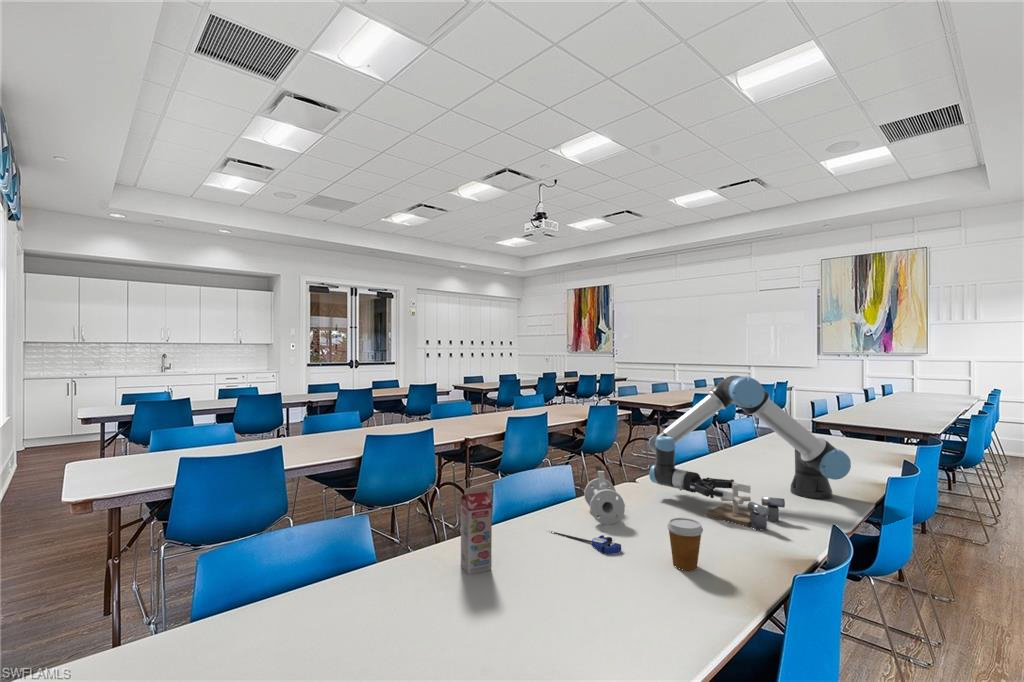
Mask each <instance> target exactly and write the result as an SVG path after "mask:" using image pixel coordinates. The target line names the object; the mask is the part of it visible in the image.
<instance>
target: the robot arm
mask: <svg viewBox="0 0 1024 682" xmlns="http://www.w3.org/2000/svg"><path fill="white" fill-rule="evenodd" d="M707 394H708V395H706V396H705V397H704V398H703V399H701V400H700V401H699V402H697V403H696V404H695V405H694V406H692V408H690V409H689V410H688V411H686V412H685V413H683V415H681V416H680V417H678V418H677V419H675V421H674V422H672V423H671V424H669V425H668V426H667V427H666V428H665V429H663V430H662V431H661V432H660V433H658V434H654V435H652V436H651V437H650V438H649V440H648V446H649V449H650V451H651V452H652V453H654V454H655V464H653V465H652V466H651V467H650V469H649V474H648V476H649V480H650V481H651V482H652V483H655V484H657V485H660V486H663V487H670V488H673V489H677V490H679V492H680V491H687V492H689V493H693V494H694V493H698V494H700V495H702V496H704V497H707V498H708V497H710V499H714V497H716V498H720V499H721V498H724V499H728V500H733V486H732V484H737V485H738V492H743V493H746V494H747V493H748V494H751V485H749V484H745V483H741V482H735V479H732V478H731V479H724V478H712V477H703V478H701V476H700V474H699V473H698V472H694V471H689V470H685V469H678V468H676V444H678V443H680V441H681V440H683V439H684V438H685V437H687V436H688V435H690V433H692V432H693V431H694V430H696V429H697V428H698V427H699V426H701V425H702V424H703V423H705V422H706V421H707V420H709V419H710V418H711V417H713V416H714V415H715V414H716V413H717V412H719V411H720V410H726V408H728V407H730V406H731V405H735V406H737V407H738V408H739V409H740V410H742V411H743V412H744V413H745V414H746V415H749V416H751V415H752V416H755V417H756V418H757V419H758V420H760V421H761V422H763V423H764V424H765V425H766V426H767V427H768V428H769V429H771V430H772V431H773V432H774V433H776V434H777V435H778V436H779V437H780V438H782V439H783V440H784V441H785V442H786V443H788V444H789V445H790V446H791V447H792V448H794V476H793V478H792V481H791V483H790V493H792V494H793V493H795V494H794V495H796V494H797V496H799V495H801V496H800V497H803V496H805V497H804V498H808V497H810V498H809V499H816V498H819V499H820V500H824V499H825V498H826V500H827V499H832V498H833V489H832V487H831V485H830V481H829V480H837V481H838V480H841V479H843V478H845V477H846V476H847V475H848V474H849V473H850V470H851V469H852V462H851V459H850V457H849V455H848V454H847V453H846V452H845V451H843V450H841V449H837V448H836V447H835V446H834V445H832V444H831V443H830V442H829V441H828V440H826V439H825V438H823V437H816V436H815V435H814V434H813V433H811V432H810V431H809V430H808V429H806V428H805V427H804V426H803V425H802V424H800V423H799V422H798V420H795V419H794V418H793V416H791V415H790V414H788V413H787V412H786V411H785V410H784V409H782V408H781V407H780V406H778V404H777V403H775V402H774V401H773V400H772V399H771V398H770V393H769V392H768V391H767V390H765V388H764V386H763V385H762V384H761V383H760V381H758V380H757V379H755V378H753V377H750V376H741V375H730V376H727V377H725V378H724V379H722V380H721V381H720V382H718V383H717V385H715V386H714V387H712V389H710V390H709V391H708V393H707ZM724 489H731V490H732V491H729V490H724ZM819 499H818V500H819Z"/></svg>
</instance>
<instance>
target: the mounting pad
mask: <svg viewBox="0 0 1024 682" xmlns="http://www.w3.org/2000/svg"><path fill="white" fill-rule="evenodd" d="M738 510H739V513H733V504H730V503H724V504H721V505H718V506H716V507H714V508H712V509H709V510H706V512H705V516H706V517H708V516H709V518H712V517H713V518H712V519H717V520H719V519H720V521H723V520H725V521H724V522H727V521H729V522H728V523H731V522H733V523H732V524H734V523H736V524H735V525H738V524H740V525H739V526H742V525H744V526H743V527H745V526H749V527H750V512H753V511H751V510H749V509H748V508H745V507H742V506H738Z"/></svg>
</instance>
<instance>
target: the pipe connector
mask: <svg viewBox="0 0 1024 682" xmlns="http://www.w3.org/2000/svg"><path fill="white" fill-rule="evenodd" d="M732 486H733V490H732V492H733V500H728V499H724V498H720V502H732V505H733V513H739V510H738V507H739V505H743V504H744V502H752V500H751V499H752V498H751V496H749V495H739V491H738V485H737V484H732Z"/></svg>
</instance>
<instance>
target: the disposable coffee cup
mask: <svg viewBox="0 0 1024 682" xmlns="http://www.w3.org/2000/svg"><path fill="white" fill-rule="evenodd" d="M666 527H667V530H668V534H669V541H670V550H671V557H672V558H671V559H672V566H673V567H674V566H676V567H677V568H676V567H675V568H676V569H678V568H680V569H683V570H682V571H684V570H693V571H695V570H694V569H696V568H698V562H699V553H700V548H701V547H700V546H701V538H702V534H703V532H704V528H703V526H702V523H701V522H699V521H698V520H696V519H692V518H687V517H673V518H670V519H669V520H668V523H667V524H666ZM680 569H679V570H680ZM696 570H697V569H696Z"/></svg>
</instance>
